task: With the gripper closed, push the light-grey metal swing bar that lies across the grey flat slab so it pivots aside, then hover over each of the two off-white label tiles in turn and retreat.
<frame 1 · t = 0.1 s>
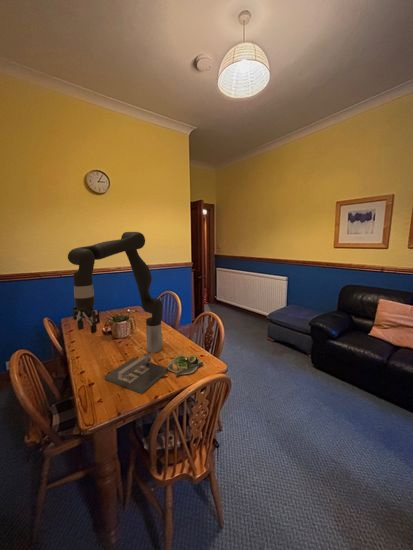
hand: (87, 331, 101), 29 cm above the table, fingers open, 8 cm apart
grey flat slab: (137, 375, 118), on the table
cable arm: (136, 365, 117), point 6 cm above the table, hinge at 0.0°
salad plate: (185, 366, 128), on the table
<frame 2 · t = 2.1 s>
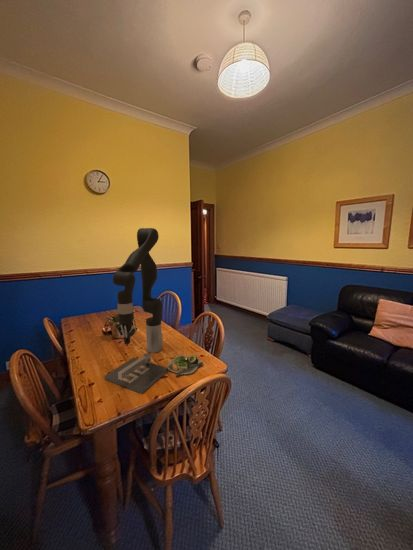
hand: (127, 343, 118), 16 cm above the table, fingers closed
nothing on the table moved.
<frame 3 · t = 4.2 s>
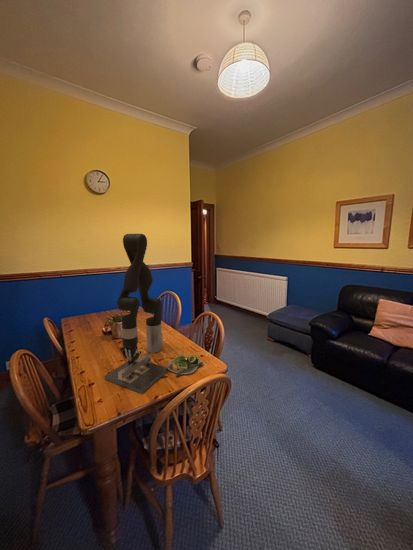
hand: (131, 366, 119), 4 cm above the table, fingers closed
cable arm: (136, 365, 117), point 6 cm above the table, hinge at 0.0°, touching gripper
everything else where it was.
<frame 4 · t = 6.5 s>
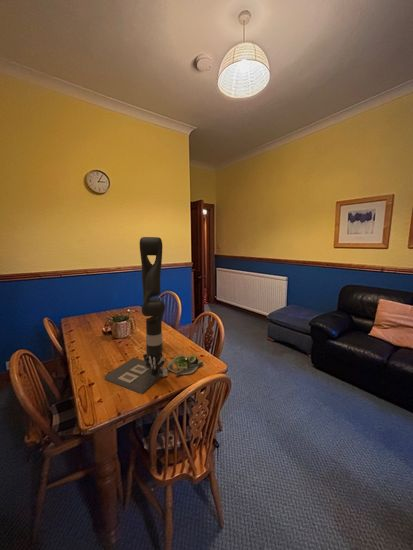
hand: (155, 375, 112), 4 cm above the table, fingers closed
cable arm: (154, 364, 118), point 6 cm above the table, hinge at 66.6°, touching gripper
everything else where it was.
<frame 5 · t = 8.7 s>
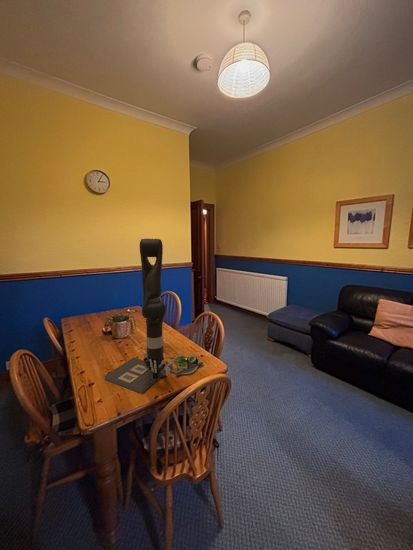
hand: (155, 378, 109), 4 cm above the table, fingers closed
cable arm: (156, 363, 118), point 6 cm above the table, hinge at 71.1°
everything else where it was.
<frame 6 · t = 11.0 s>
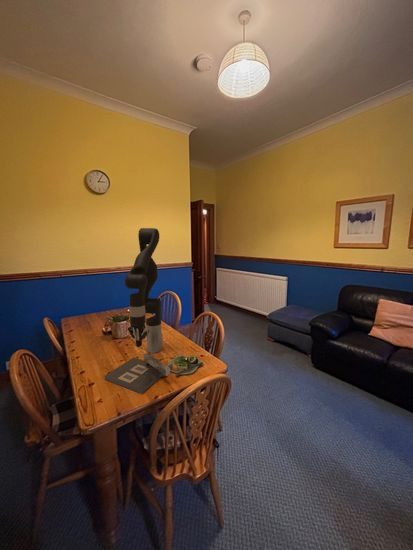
hand: (138, 346, 118), 15 cm above the table, fingers closed
nothing on the table moved.
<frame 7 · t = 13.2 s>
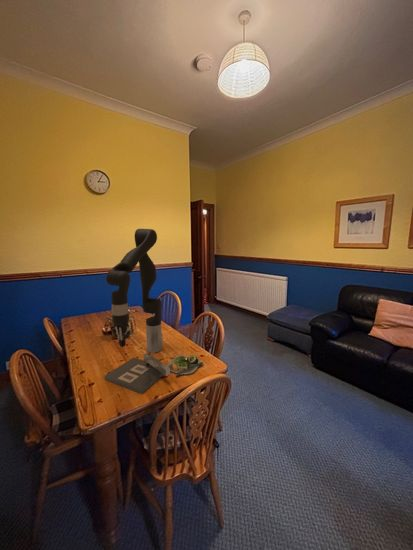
hand: (122, 346, 112), 18 cm above the table, fingers closed
nothing on the table moved.
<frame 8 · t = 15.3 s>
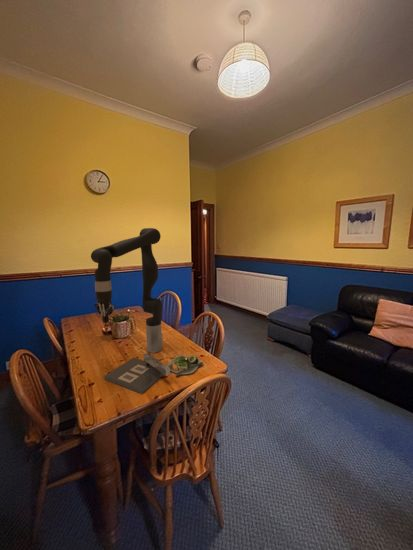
hand: (105, 322, 117), 27 cm above the table, fingers closed
nothing on the table moved.
at the end: cable arm at +71° (first picture: +0°) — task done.
